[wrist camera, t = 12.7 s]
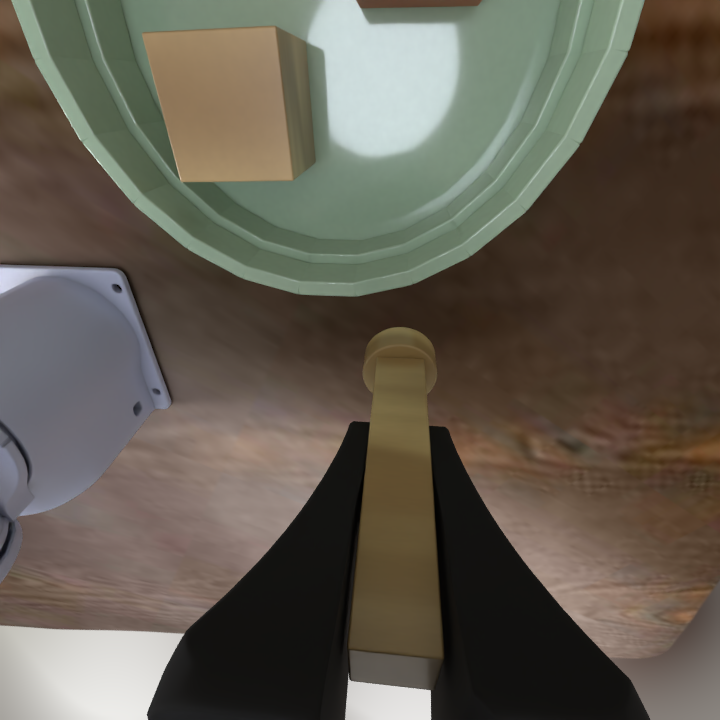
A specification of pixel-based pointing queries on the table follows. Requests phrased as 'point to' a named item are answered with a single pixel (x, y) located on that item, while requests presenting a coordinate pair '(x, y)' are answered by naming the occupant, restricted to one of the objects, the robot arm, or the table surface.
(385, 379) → the muddler
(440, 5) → the rust block
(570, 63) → the bowl
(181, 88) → the maple block
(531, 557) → the table surface
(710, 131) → the table surface
